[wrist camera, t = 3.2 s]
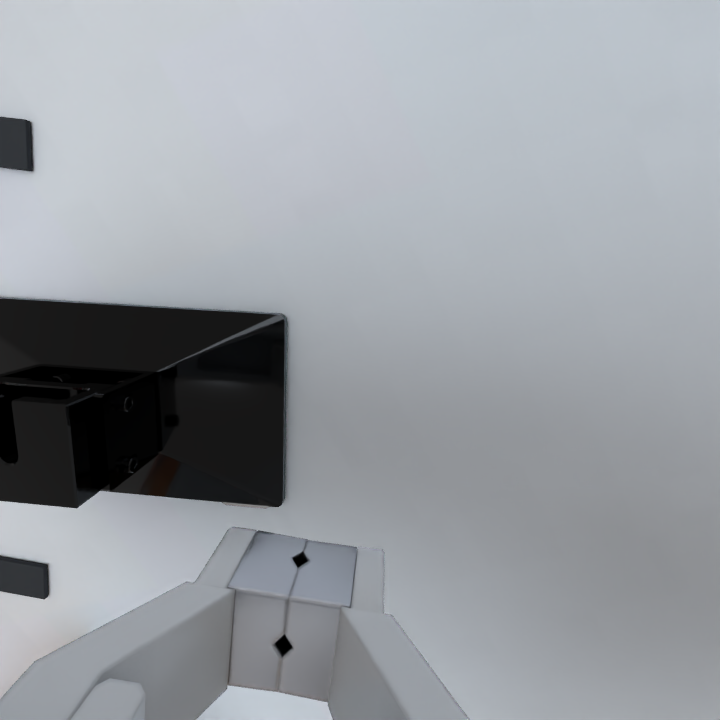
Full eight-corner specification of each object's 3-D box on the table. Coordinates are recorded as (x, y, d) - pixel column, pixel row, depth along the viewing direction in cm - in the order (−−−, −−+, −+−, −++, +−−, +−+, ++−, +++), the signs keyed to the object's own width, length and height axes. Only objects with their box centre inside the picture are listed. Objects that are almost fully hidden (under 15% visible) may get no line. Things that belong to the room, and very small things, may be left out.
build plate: (288, 313, 14) (240, 333, 10) (286, 507, 16) (243, 602, 11) (-55, 293, 15) (-245, 304, 11) (-25, 481, 17) (-181, 559, 12)
